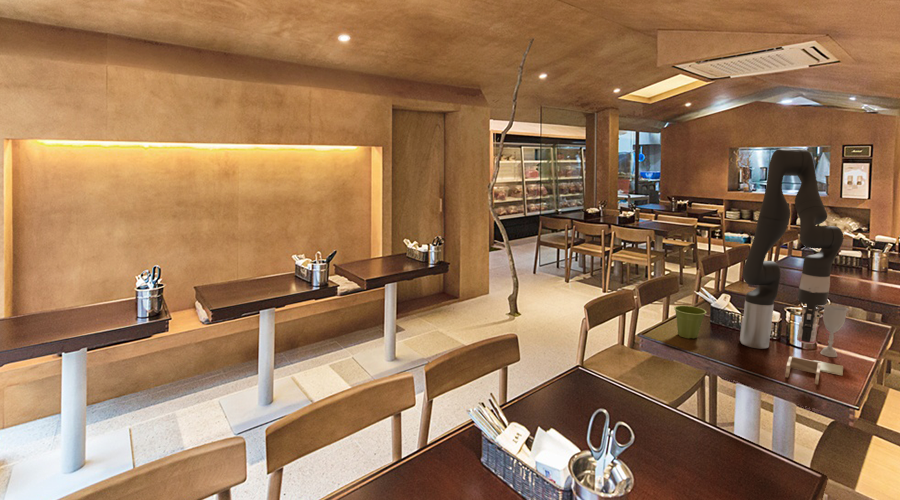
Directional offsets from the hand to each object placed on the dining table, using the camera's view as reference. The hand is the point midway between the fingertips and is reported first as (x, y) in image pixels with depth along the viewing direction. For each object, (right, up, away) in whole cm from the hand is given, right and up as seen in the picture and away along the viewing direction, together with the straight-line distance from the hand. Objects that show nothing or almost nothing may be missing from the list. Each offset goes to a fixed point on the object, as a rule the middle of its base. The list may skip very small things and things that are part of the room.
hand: (806, 338), depth 151 cm
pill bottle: (0, -1, 0) cm, 1 cm away
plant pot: (-18, -7, +41) cm, 45 cm away
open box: (+2, -13, +4) cm, 14 cm away
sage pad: (+14, -12, +9) cm, 21 cm away
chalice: (+24, -10, +21) cm, 33 cm away
